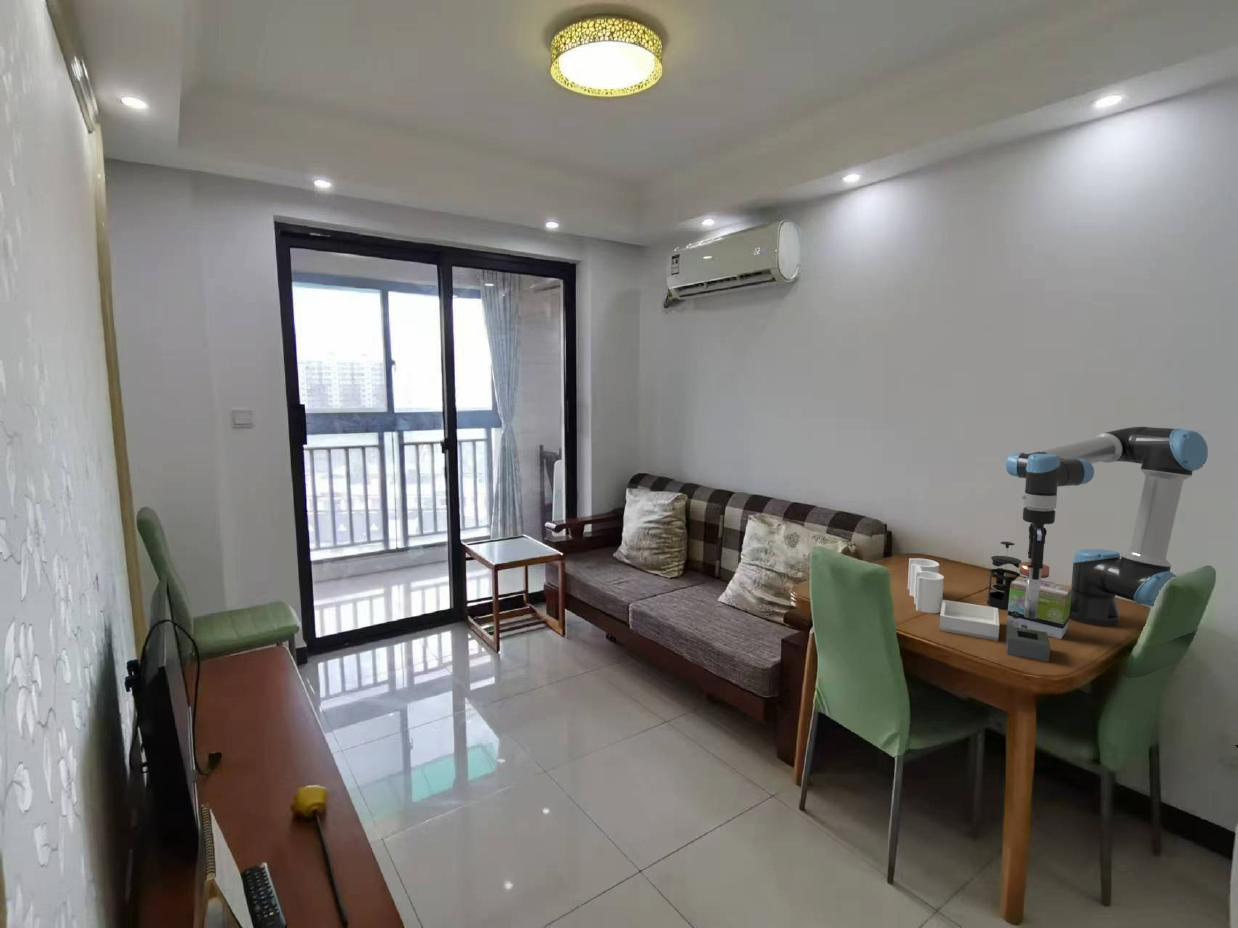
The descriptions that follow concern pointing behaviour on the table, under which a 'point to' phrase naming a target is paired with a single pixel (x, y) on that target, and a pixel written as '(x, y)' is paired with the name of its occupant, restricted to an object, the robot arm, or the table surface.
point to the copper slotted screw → (1032, 591)
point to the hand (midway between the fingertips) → (1033, 585)
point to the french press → (1002, 590)
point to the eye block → (1027, 643)
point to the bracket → (925, 585)
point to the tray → (969, 620)
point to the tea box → (1041, 608)
